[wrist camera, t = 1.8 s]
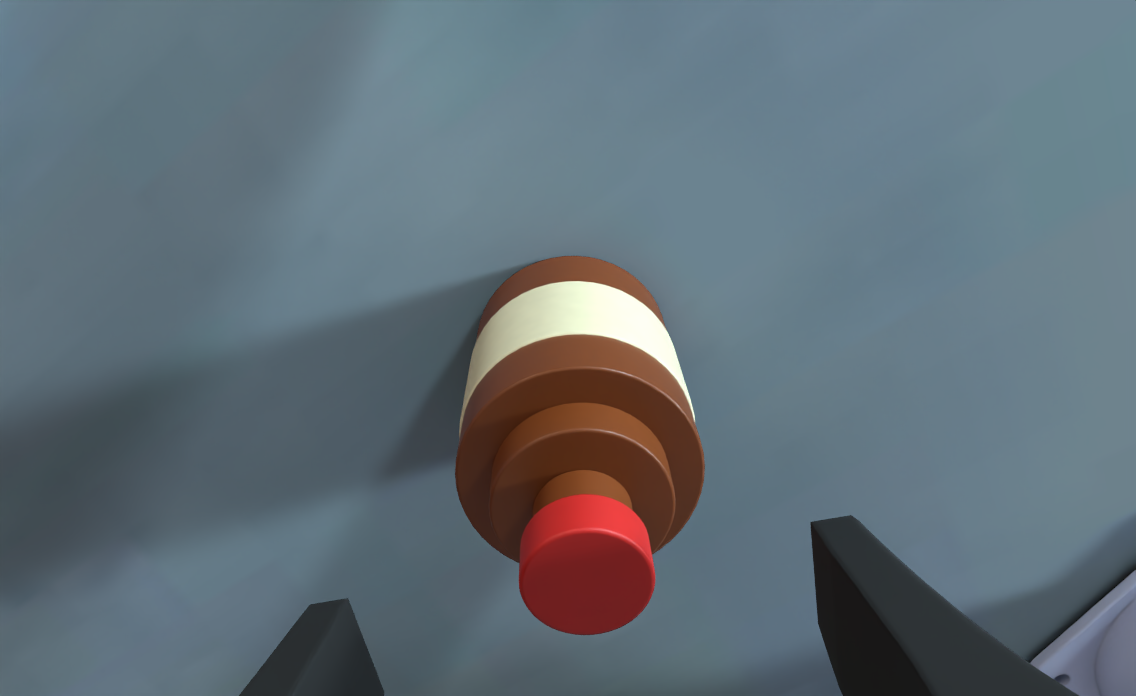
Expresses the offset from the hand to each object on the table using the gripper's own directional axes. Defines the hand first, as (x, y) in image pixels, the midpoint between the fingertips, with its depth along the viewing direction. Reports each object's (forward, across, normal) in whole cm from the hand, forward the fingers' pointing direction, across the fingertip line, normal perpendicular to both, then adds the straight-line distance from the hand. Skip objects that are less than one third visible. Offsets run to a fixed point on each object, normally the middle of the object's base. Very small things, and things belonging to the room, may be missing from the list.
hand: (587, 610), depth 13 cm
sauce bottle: (+10, 0, 0) cm, 10 cm away
